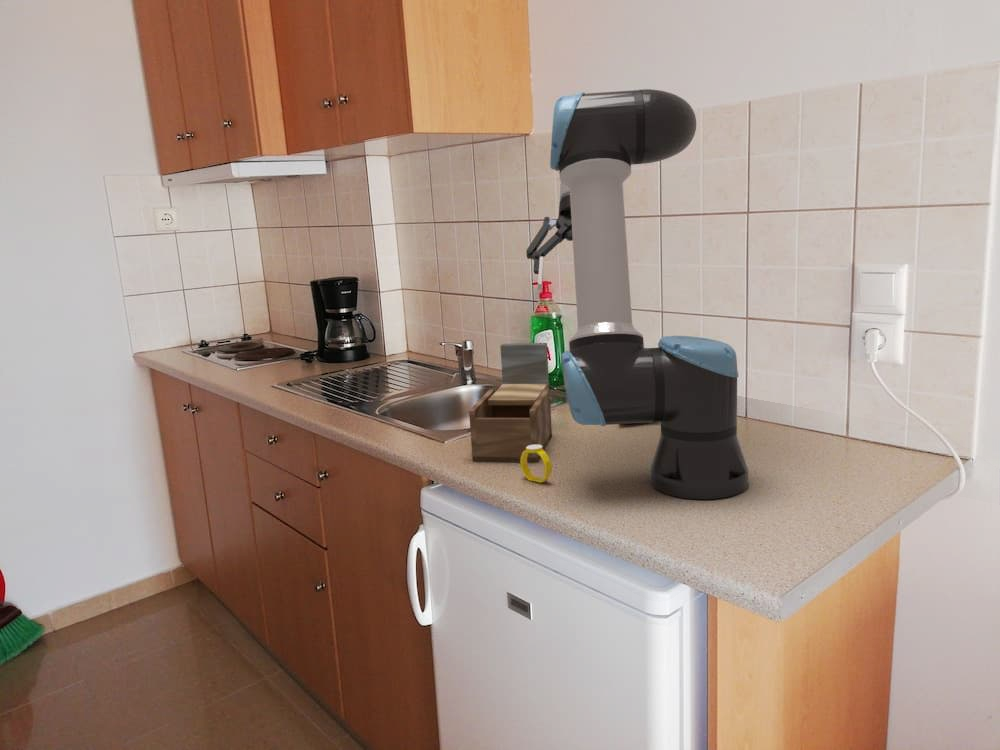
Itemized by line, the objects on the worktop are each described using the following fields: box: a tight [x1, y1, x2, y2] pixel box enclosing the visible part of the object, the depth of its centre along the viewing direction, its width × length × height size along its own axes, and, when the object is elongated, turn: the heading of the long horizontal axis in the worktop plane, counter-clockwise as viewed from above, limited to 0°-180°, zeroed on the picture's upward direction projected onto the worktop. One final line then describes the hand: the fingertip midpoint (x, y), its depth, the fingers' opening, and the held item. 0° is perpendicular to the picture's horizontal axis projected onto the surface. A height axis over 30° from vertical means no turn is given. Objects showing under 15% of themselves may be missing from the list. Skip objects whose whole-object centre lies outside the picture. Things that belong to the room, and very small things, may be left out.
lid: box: [488, 342, 550, 405], centre depth 154 cm, size 15×9×9 cm, turn 167°
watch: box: [519, 444, 553, 484], centre depth 131 cm, size 6×3×6 cm, turn 44°
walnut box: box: [468, 388, 553, 464], centre depth 148 cm, size 16×12×10 cm
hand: (572, 288), depth 166 cm, fingers open, 13 cm apart
